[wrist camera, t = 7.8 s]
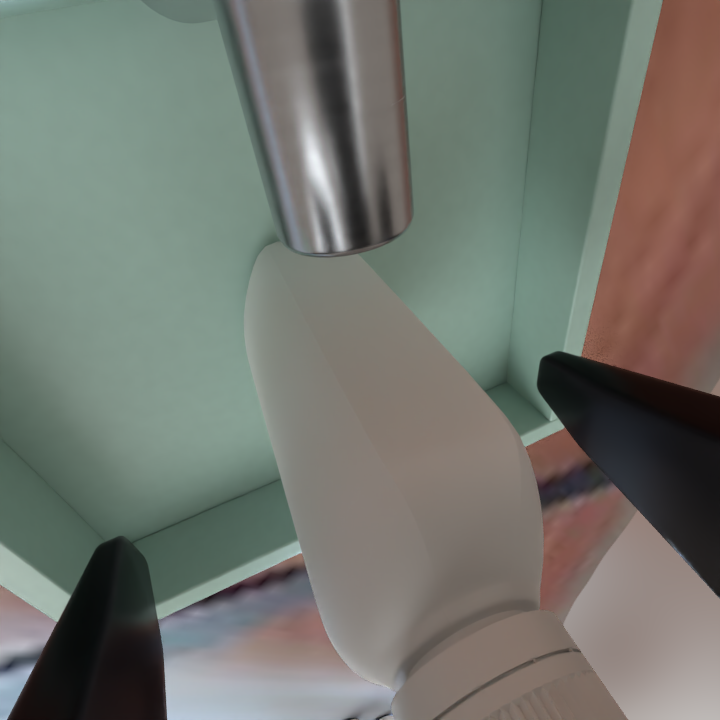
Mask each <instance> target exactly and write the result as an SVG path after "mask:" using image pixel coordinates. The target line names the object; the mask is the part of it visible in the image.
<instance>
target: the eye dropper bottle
mask: <svg viewBox="0 0 720 720" xmlns="http://www.w3.org/2000/svg"><path fill="white" fill-rule="evenodd" d="M244 338H245V347H246V352H247V357H248V362H249V365H250V369H251V373H252V376H253V380H254V384H255V387H256V391H257V394H258V398H259V401H260V405H261V409H262V412H263V416H264V419H265V423H266V427H267V430H268V434H269V437H270V441H271V444H272V448H273V452H274V455H275V459H276V462H277V466H278V469H279V473H280V477H281V480H282V484H283V487H284V491H285V494H286V498H287V502H288V505H289V509H290V512H291V516H292V519H293V523H294V526H295V530H296V534H297V537H298V541H299V544H300V548H301V551H302V555H303V558H304V562H305V565H306V569H307V572H308V576H309V579H310V583H311V586H312V590H313V593H314V597H315V601H316V604H317V607H318V610H319V613H320V617H321V620H322V623H323V625H324V628H325V630H326V633H327V635H328V637H329V639H330V641H331V643H332V645H333V647H334V648H335V650H336V652H337V653H338V654H339V656H340V657H341V658H342V660H343V661H344V662H345V663H346V665H347V666H348V667H349V668H350V669H351V670H352V671H354V672H355V673H356V674H357V675H359V676H360V677H362V678H363V679H365V680H366V681H369V682H371V683H373V684H376V685H380V686H385V687H388V688H390V689H391V690H393V691H395V692H397V693H396V695H395V697H394V699H393V701H392V704H391V711H392V714H393V717H394V719H395V720H628V719H627V718H626V716H625V715H624V713H623V712H622V710H621V709H620V707H619V706H618V705H617V703H616V702H615V700H614V699H613V697H612V696H611V695H610V693H609V692H608V690H607V689H606V687H605V686H604V684H603V683H602V681H601V680H600V679H599V677H598V676H597V674H596V673H595V671H594V670H593V668H592V667H591V666H590V664H589V663H588V661H587V660H586V658H585V657H584V656H583V654H582V653H581V651H580V649H579V648H578V647H577V645H576V644H575V642H574V641H573V639H572V638H571V636H570V635H569V634H568V632H567V631H566V629H565V628H564V626H563V625H562V623H561V622H560V621H559V619H558V618H557V616H556V615H555V614H554V613H553V612H551V611H548V610H539V608H540V585H541V575H542V567H543V547H544V534H543V518H542V510H541V502H540V497H539V492H538V487H537V482H536V478H535V475H534V471H533V468H532V465H531V461H530V458H529V456H528V454H527V451H526V449H525V447H524V445H523V443H522V440H521V438H520V436H519V434H518V433H517V431H516V430H515V428H514V427H513V425H512V424H511V423H510V421H509V420H508V418H507V417H506V415H505V414H504V413H503V412H502V411H501V410H500V409H499V407H498V406H497V405H496V404H495V403H494V402H493V401H492V399H491V398H490V397H489V396H488V395H487V394H486V393H485V391H484V390H483V389H482V388H481V387H480V386H479V385H478V383H477V382H476V381H475V380H474V379H473V378H472V377H471V375H470V374H469V373H468V372H467V371H466V370H465V369H464V368H463V367H462V365H461V364H460V363H459V362H458V361H457V360H456V359H455V358H454V357H453V356H452V355H451V353H450V352H449V351H448V350H447V349H446V348H445V347H444V346H443V345H442V344H441V343H440V342H439V340H438V339H437V338H436V337H435V336H434V335H433V334H432V333H431V332H430V331H429V330H428V328H427V327H426V326H425V325H424V324H423V323H422V322H421V321H420V320H419V319H418V318H417V317H416V315H415V314H414V313H413V312H412V311H411V310H410V309H409V308H408V307H407V306H406V305H405V304H404V302H403V301H402V300H401V299H400V298H399V297H398V296H397V295H396V294H395V293H394V292H393V291H392V290H391V289H390V287H389V286H388V285H387V284H386V283H385V282H384V281H383V280H382V279H381V278H380V277H379V276H378V275H377V273H376V272H375V271H374V270H373V269H372V268H371V267H370V266H369V265H368V264H367V263H366V262H365V261H364V260H363V259H362V257H361V256H360V255H359V254H354V255H348V256H341V257H326V258H325V257H309V256H304V255H300V254H296V253H294V252H292V251H290V250H288V249H287V248H286V247H285V246H284V245H283V244H282V243H281V241H277V242H275V243H272V244H270V245H268V246H265V247H264V249H263V250H262V251H261V252H260V253H259V255H258V256H257V259H256V261H255V264H254V266H253V269H252V273H251V276H250V280H249V284H248V289H247V294H246V300H245V309H244Z"/></svg>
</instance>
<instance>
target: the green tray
mask: <svg viewBox="0 0 720 720" xmlns="http://www.w3.org/2000/svg"><path fill="white" fill-rule="evenodd" d="M662 2H663V0H400V6H401V21H402V36H403V52H404V67H405V82H406V97H407V113H408V128H409V143H410V158H411V174H412V189H413V204H414V216H413V219H412V222H411V225H410V226H409V228H408V229H407V231H406V232H405V233H404V234H402V235H401V236H400V237H398V238H397V239H395V240H394V241H392V242H390V243H388V244H386V245H384V246H381V247H379V248H376V249H373V250H370V251H367V252H363V253H359V255H360V256H361V257H362V259H363V260H364V261H365V262H366V263H367V264H368V265H369V266H370V267H371V268H372V269H373V270H374V271H375V272H376V273H377V275H378V276H379V277H380V278H381V279H382V280H383V281H384V282H385V283H386V284H387V285H388V286H389V287H390V289H391V290H392V291H393V292H394V293H395V294H396V295H397V296H398V297H399V298H400V299H401V300H402V301H403V302H404V304H405V305H406V306H407V307H408V308H409V309H410V310H411V311H412V312H413V313H414V314H415V315H416V317H417V318H418V319H419V320H420V321H421V322H422V323H423V324H424V325H425V326H426V327H427V328H428V330H429V331H430V332H431V333H432V334H433V335H434V336H435V337H436V338H437V339H438V340H439V342H440V343H441V344H442V345H443V346H444V347H445V348H446V349H447V350H448V351H449V352H450V353H451V355H452V356H453V357H454V358H455V359H456V360H457V361H458V362H459V363H460V364H461V365H462V367H463V368H464V369H465V370H466V371H467V372H468V373H469V374H470V375H471V377H472V378H473V379H474V380H475V381H476V382H477V383H478V385H479V386H480V387H481V388H482V389H483V390H484V391H485V393H486V394H487V395H488V396H489V397H490V398H491V399H492V401H493V402H494V403H495V404H496V405H497V406H498V407H499V409H500V410H501V411H502V412H503V413H504V414H505V415H506V417H507V418H508V420H509V421H510V423H511V424H512V425H513V427H514V428H515V430H516V431H517V433H518V434H519V436H520V438H521V440H522V443H523V445H524V447H526V446H528V445H530V444H532V443H534V442H536V441H538V440H540V439H543V438H545V437H547V436H549V435H551V434H553V433H555V432H557V431H560V430H562V429H563V428H564V425H563V424H562V423H561V421H560V420H559V419H558V417H557V416H556V415H555V413H554V412H553V411H552V409H551V408H550V407H549V405H548V404H547V403H546V401H545V400H544V399H543V397H542V396H541V395H540V393H539V391H538V389H537V376H538V370H539V363H540V360H541V358H542V357H543V356H545V355H548V354H550V353H553V352H555V351H562V352H566V353H570V354H573V355H577V356H580V357H581V354H582V350H583V345H584V341H585V336H586V332H587V328H588V323H589V319H590V315H591V310H592V306H593V302H594V297H595V293H596V289H597V284H598V280H599V276H600V271H601V267H602V263H603V258H604V254H605V250H606V245H607V241H608V237H609V232H610V228H611V224H612V219H613V215H614V210H615V206H616V202H617V197H618V193H619V189H620V184H621V180H622V176H623V171H624V167H625V163H626V158H627V154H628V150H629V145H630V141H631V137H632V132H633V128H634V124H635V119H636V115H637V111H638V106H639V102H640V98H641V93H642V89H643V84H644V80H645V76H646V71H647V67H648V63H649V58H650V54H651V50H652V45H653V41H654V37H655V32H656V28H657V24H658V19H659V15H660V11H661V6H662ZM277 241H280V240H279V239H278V237H277V233H276V230H275V226H274V223H273V219H272V215H271V212H270V208H269V205H268V201H267V197H266V194H265V190H264V187H263V183H262V179H261V176H260V172H259V169H258V165H257V161H256V158H255V154H254V151H253V147H252V143H251V140H250V136H249V133H248V129H247V125H246V122H245V118H244V114H243V111H242V107H241V104H240V100H239V96H238V93H237V89H236V86H235V82H234V78H233V75H232V71H231V68H230V64H229V60H228V57H227V53H226V50H225V46H224V42H223V39H222V35H221V32H220V28H219V24H218V21H217V20H213V21H208V22H203V23H195V24H191V23H182V22H177V21H174V20H171V19H168V18H166V17H164V16H162V15H160V14H158V13H157V12H155V11H154V10H152V9H151V8H149V7H148V6H147V5H146V4H144V3H143V2H142V1H141V0H0V585H2V586H3V587H5V588H6V589H8V590H9V591H11V592H12V593H14V594H15V595H17V596H18V597H20V598H21V599H23V600H24V601H26V602H27V603H29V604H30V605H32V606H33V607H35V608H36V609H38V610H39V611H41V612H42V613H44V614H45V615H47V616H48V617H50V618H51V619H53V620H54V621H56V622H58V620H59V618H60V616H61V614H62V612H63V611H64V609H65V607H66V605H67V603H68V601H69V599H70V597H71V595H72V593H73V591H74V589H75V587H76V585H77V583H78V582H79V580H80V578H81V576H82V574H83V572H84V570H85V568H86V566H87V564H88V562H89V560H90V558H91V556H92V554H93V553H94V551H95V549H96V548H97V547H98V545H100V544H101V543H103V542H105V541H108V540H110V539H113V538H115V537H117V536H125V537H126V538H127V539H128V540H129V541H130V542H131V543H132V544H133V545H134V546H135V547H136V548H137V549H138V550H139V551H140V552H141V553H142V554H143V556H144V557H145V559H146V561H147V563H148V567H149V572H150V578H151V583H152V589H153V595H154V600H155V606H156V612H157V618H158V620H159V619H161V618H163V617H166V616H168V615H170V614H172V613H174V612H176V611H178V610H180V609H183V608H185V607H187V606H189V605H191V604H193V603H195V602H197V601H199V600H202V599H204V598H206V597H208V596H210V595H212V594H214V593H216V592H219V591H221V590H223V589H225V588H227V587H229V586H231V585H233V584H235V583H238V582H240V581H242V580H244V579H246V578H248V577H250V576H252V575H255V574H257V573H259V572H261V571H263V570H265V569H267V568H269V567H271V566H274V565H276V564H278V563H280V562H282V561H284V560H286V559H288V558H291V557H293V556H295V555H297V554H299V553H301V552H302V551H301V548H300V544H299V541H298V537H297V534H296V530H295V526H294V523H293V519H292V516H291V512H290V509H289V505H288V502H287V498H286V494H285V491H284V487H283V484H282V480H281V477H280V473H279V469H278V466H277V462H276V459H275V455H274V452H273V448H272V444H271V441H270V437H269V434H268V430H267V427H266V423H265V419H264V416H263V412H262V409H261V405H260V401H259V398H258V394H257V391H256V387H255V384H254V380H253V376H252V373H251V369H250V365H249V362H248V357H247V352H246V347H245V338H244V309H245V300H246V294H247V289H248V284H249V280H250V276H251V273H252V269H253V266H254V264H255V261H256V259H257V256H258V255H259V253H260V252H261V251H262V250H263V249H264V247H265V246H268V245H270V244H272V243H275V242H277Z"/></svg>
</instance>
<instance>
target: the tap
mask: <svg viewBox="0 0 720 720" xmlns="http://www.w3.org/2000/svg"><path fill="white" fill-rule="evenodd" d="M141 1H142V2H143V3H144V4H146V5H147V6H148V7H149V8H151V9H152V10H154V11H155V12H157V13H158V14H160V15H162V16H164V17H166V18H168V19H171V20H174V21H177V22H182V23H191V24H195V23H203V22H208V21H213V20H217V21H218V24H219V28H220V32H221V35H222V39H223V42H224V46H225V50H226V53H227V57H228V60H229V64H230V68H231V71H232V75H233V78H234V82H235V86H236V89H237V93H238V96H239V100H240V104H241V107H242V111H243V114H244V118H245V122H246V125H247V129H248V133H249V136H250V140H251V143H252V147H253V151H254V154H255V158H256V161H257V165H258V169H259V172H260V176H261V179H262V183H263V187H264V190H265V194H266V197H267V201H268V205H269V208H270V212H271V215H272V219H273V223H274V226H275V230H276V233H277V237H278V239H279V240H280V241H281V243H282V244H283V245H284V246H285V247H286V248H287V249H288V250H290V251H292V252H294V253H296V254H300V255H304V256H309V257H325V258H326V257H341V256H348V255H354V254H359V253H363V252H367V251H370V250H373V249H376V248H379V247H381V246H384V245H386V244H388V243H390V242H392V241H394V240H395V239H397V238H398V237H400V236H401V235H402V234H404V233H405V232H406V231H407V229H408V228H409V226H410V225H411V222H412V219H413V216H414V204H413V189H412V174H411V158H410V143H409V128H408V113H407V97H406V82H405V67H404V52H403V36H402V21H401V6H400V0H141Z"/></svg>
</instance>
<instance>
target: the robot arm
mask: <svg viewBox="0 0 720 720" xmlns="http://www.w3.org/2000/svg"><path fill="white" fill-rule="evenodd" d="M537 389H538V391H539V393H540V395H541V396H542V397H543V399H544V400H545V401H546V403H547V404H548V405H549V407H550V408H551V409H552V411H553V412H554V413H555V415H556V416H557V417H558V419H559V420H560V421H561V423H562V424H563V425H564V427H565V428H566V429H567V431H568V432H569V433H570V435H571V436H572V437H573V439H574V440H575V441H576V442H577V444H578V445H579V446H580V447H581V448H582V450H583V451H584V452H585V453H586V454H587V455H588V456H589V457H590V458H591V460H592V461H593V462H594V463H595V464H596V465H597V466H598V467H599V468H600V469H601V470H602V471H603V473H604V474H605V475H606V476H607V477H608V478H609V479H610V480H611V481H612V482H613V483H614V484H615V486H616V487H617V488H618V489H619V490H620V491H621V492H622V493H623V494H624V495H625V496H626V497H627V499H628V500H629V501H630V502H631V503H632V504H633V505H634V506H635V507H636V508H637V509H638V510H639V511H640V513H641V514H642V515H643V516H644V517H645V518H646V519H647V520H648V521H649V522H650V523H651V524H652V526H653V527H654V528H655V529H656V530H657V531H658V532H659V533H660V534H661V535H662V536H663V538H664V539H665V540H666V541H667V542H668V543H669V544H670V545H671V546H672V547H673V548H674V549H675V550H676V552H677V553H678V554H679V555H680V556H681V557H682V558H683V559H684V560H685V561H686V562H687V563H688V565H689V566H690V567H691V568H692V569H693V570H694V571H695V572H696V573H697V574H698V575H699V576H700V578H701V579H702V580H703V581H704V582H705V583H706V584H707V585H708V586H709V587H710V588H711V590H712V591H713V592H714V593H715V594H716V595H717V596H718V597H719V598H720V397H719V396H716V395H712V394H709V393H705V392H702V391H698V390H695V389H691V388H688V387H684V386H681V385H677V384H674V383H671V382H667V381H664V380H660V379H657V378H653V377H650V376H646V375H643V374H639V373H636V372H632V371H629V370H625V369H622V368H618V367H615V366H611V365H608V364H604V363H601V362H597V361H594V360H590V359H587V358H584V357H580V356H577V355H573V354H570V353H566V352H562V351H555V352H553V353H550V354H548V355H545V356H543V357H542V358H541V360H540V363H539V370H538V376H537ZM7 720H167V710H166V692H165V674H164V658H163V648H162V641H161V635H160V629H159V623H158V618H157V612H156V606H155V600H154V595H153V589H152V583H151V578H150V572H149V567H148V563H147V561H146V559H145V557H144V556H143V554H142V553H141V552H140V551H139V550H138V549H137V548H136V547H135V546H134V545H133V544H132V543H131V542H130V541H129V540H128V539H127V538H126V537H125V536H117V537H115V538H113V539H110V540H108V541H105V542H103V543H101V544H100V545H98V547H97V548H96V549H95V551H94V553H93V554H92V556H91V558H90V560H89V562H88V564H87V566H86V568H85V570H84V572H83V574H82V576H81V578H80V580H79V582H78V583H77V585H76V587H75V589H74V591H73V593H72V595H71V597H70V599H69V601H68V603H67V605H66V607H65V609H64V611H63V612H62V614H61V616H60V618H59V620H58V622H57V624H56V626H55V628H54V630H53V632H52V634H51V636H50V638H49V640H48V642H47V643H46V645H45V647H44V649H43V651H42V653H41V655H40V657H39V659H38V661H37V663H36V665H35V667H34V669H33V671H32V672H31V674H30V676H29V678H28V680H27V682H26V684H25V686H24V688H23V690H22V692H21V694H20V696H19V698H18V700H17V701H16V703H15V705H14V707H13V709H12V711H11V713H10V715H9V717H8V719H7Z"/></svg>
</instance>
